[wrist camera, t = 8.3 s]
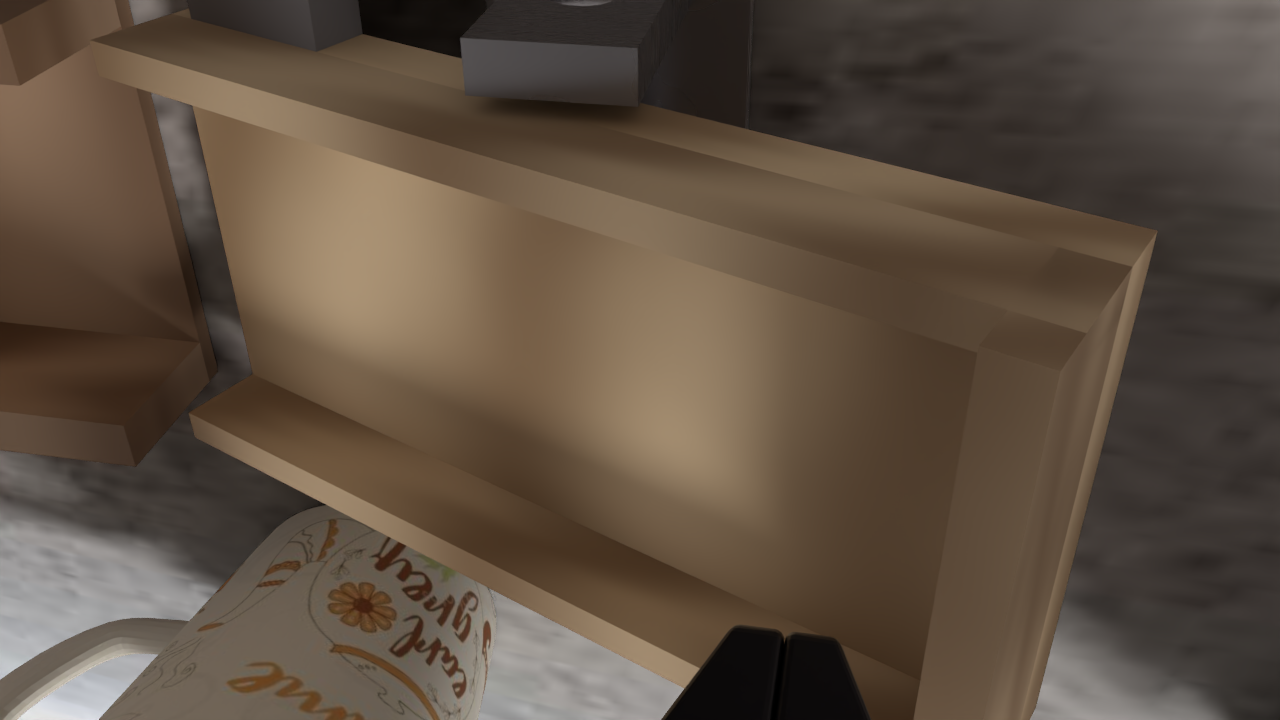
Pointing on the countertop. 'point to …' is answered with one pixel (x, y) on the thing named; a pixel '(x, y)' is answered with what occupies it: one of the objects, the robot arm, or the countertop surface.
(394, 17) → the countertop surface
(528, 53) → the stand
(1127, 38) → the countertop surface
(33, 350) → the tray
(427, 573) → the mug
